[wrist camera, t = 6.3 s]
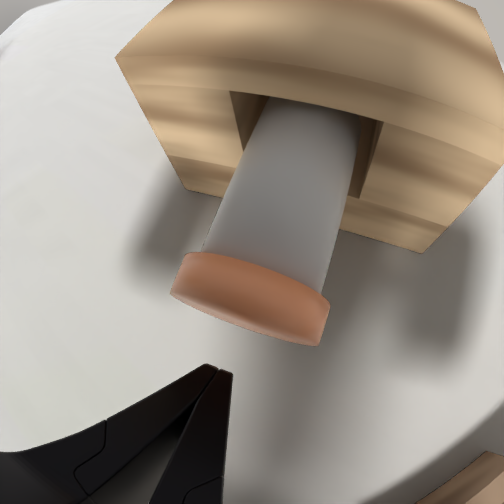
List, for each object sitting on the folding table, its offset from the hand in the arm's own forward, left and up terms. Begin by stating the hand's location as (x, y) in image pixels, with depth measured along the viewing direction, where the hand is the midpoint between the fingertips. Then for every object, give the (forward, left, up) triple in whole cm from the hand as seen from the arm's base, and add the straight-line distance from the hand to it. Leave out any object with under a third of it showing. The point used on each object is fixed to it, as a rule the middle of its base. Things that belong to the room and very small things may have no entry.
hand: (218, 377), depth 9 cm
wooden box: (+8, +11, -7) cm, 15 cm away
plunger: (+3, +5, -3) cm, 7 cm away
